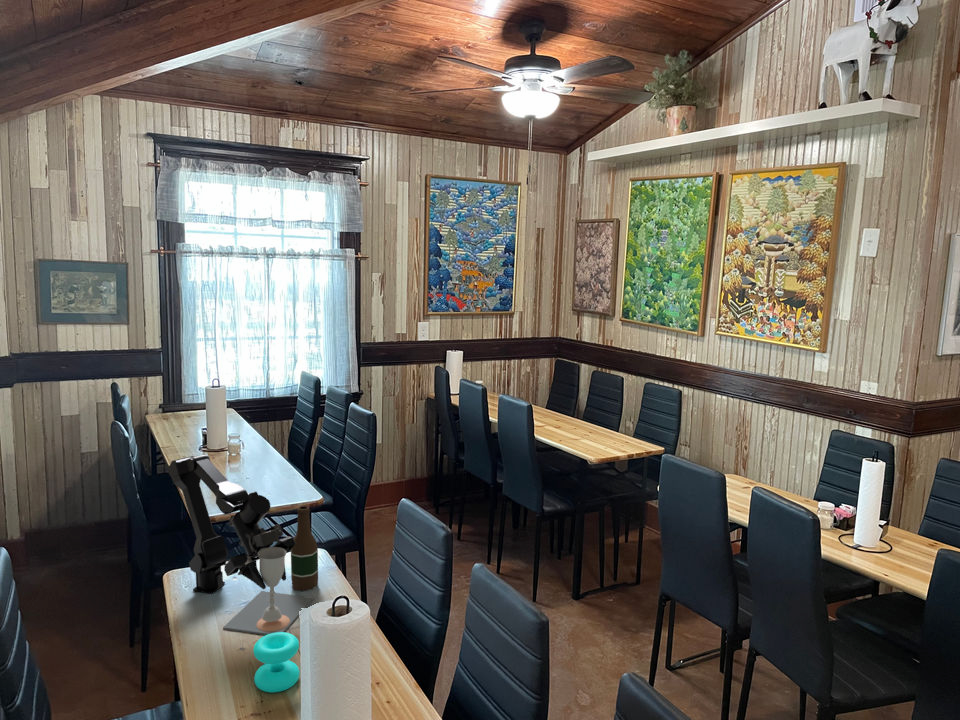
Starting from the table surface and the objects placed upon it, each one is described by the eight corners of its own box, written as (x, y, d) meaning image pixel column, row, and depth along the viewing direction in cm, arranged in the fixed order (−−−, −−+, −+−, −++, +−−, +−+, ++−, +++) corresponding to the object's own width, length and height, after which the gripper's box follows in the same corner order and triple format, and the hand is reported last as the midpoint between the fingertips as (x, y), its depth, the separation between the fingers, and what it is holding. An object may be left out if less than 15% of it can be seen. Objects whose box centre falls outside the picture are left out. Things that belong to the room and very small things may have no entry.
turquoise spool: (302, 648, 158) (255, 657, 154) (303, 689, 160) (257, 699, 156) (294, 626, 167) (250, 634, 163) (295, 664, 169) (252, 674, 165)
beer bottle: (323, 585, 208) (322, 507, 204) (300, 594, 202) (299, 514, 198) (308, 576, 213) (307, 500, 209) (285, 585, 207) (284, 507, 203)
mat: (223, 629, 183) (223, 626, 183) (261, 592, 203) (261, 590, 203) (280, 637, 180) (280, 635, 180) (313, 599, 200) (313, 597, 200)
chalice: (289, 610, 189) (289, 547, 186) (282, 624, 183) (282, 559, 179) (261, 608, 189) (261, 546, 186) (254, 623, 183) (253, 558, 179)
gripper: (229, 528, 176) (256, 583, 172) (291, 507, 191) (317, 558, 186) (212, 548, 183) (238, 602, 178) (274, 527, 197) (299, 576, 192)
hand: (275, 584), depth 183 cm, fingers closed on chalice, 6 cm apart
